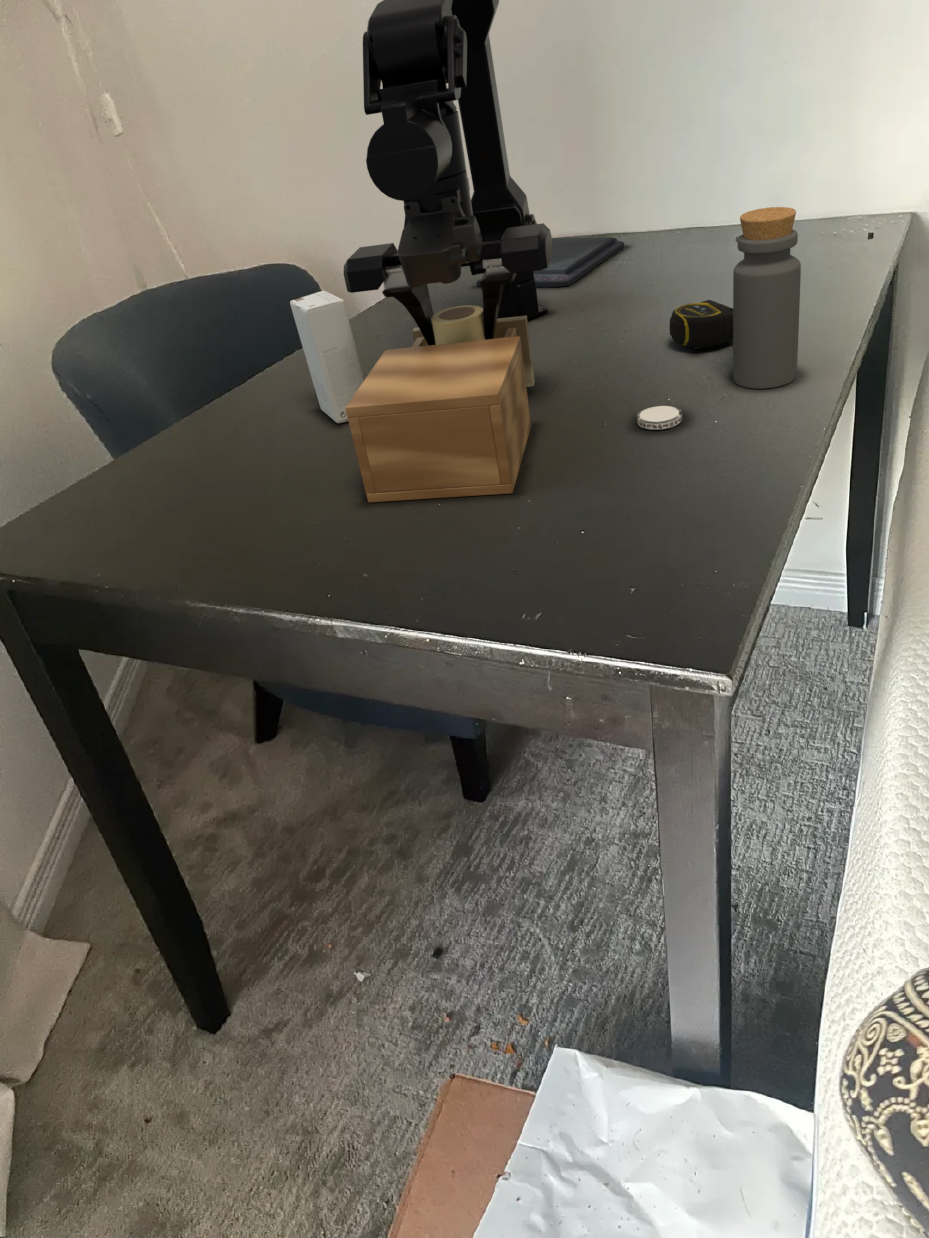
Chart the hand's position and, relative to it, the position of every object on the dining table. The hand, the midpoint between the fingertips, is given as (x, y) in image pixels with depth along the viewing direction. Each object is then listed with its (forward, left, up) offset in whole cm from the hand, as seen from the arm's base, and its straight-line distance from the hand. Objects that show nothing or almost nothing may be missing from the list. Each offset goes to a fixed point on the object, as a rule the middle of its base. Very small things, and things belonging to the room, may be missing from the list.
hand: (462, 350), depth 91 cm
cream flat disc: (+17, +9, -7) cm, 20 cm away
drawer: (-1, +1, -6) cm, 6 cm away
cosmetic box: (-13, -8, -7) cm, 17 cm away
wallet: (-36, +40, -7) cm, 55 cm away
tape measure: (+6, +27, -7) cm, 29 cm away
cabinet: (+8, -8, -7) cm, 13 cm away
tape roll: (0, 0, -1) cm, 1 cm away
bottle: (+18, +22, -7) cm, 29 cm away
